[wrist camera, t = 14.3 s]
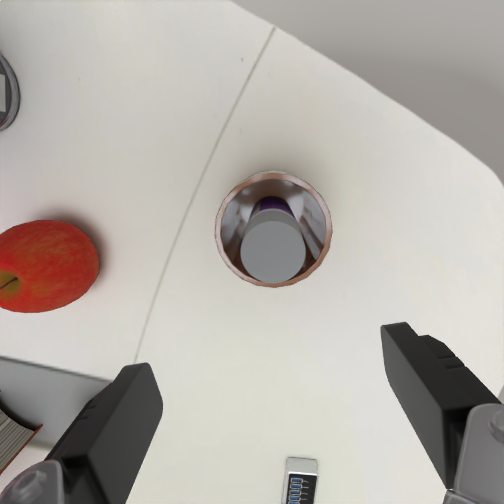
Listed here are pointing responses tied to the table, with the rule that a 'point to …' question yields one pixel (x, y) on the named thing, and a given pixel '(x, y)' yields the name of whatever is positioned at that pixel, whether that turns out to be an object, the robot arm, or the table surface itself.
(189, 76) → the table surface
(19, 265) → the apple
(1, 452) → the book
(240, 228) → the tin
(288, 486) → the multiport hub
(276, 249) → the container
